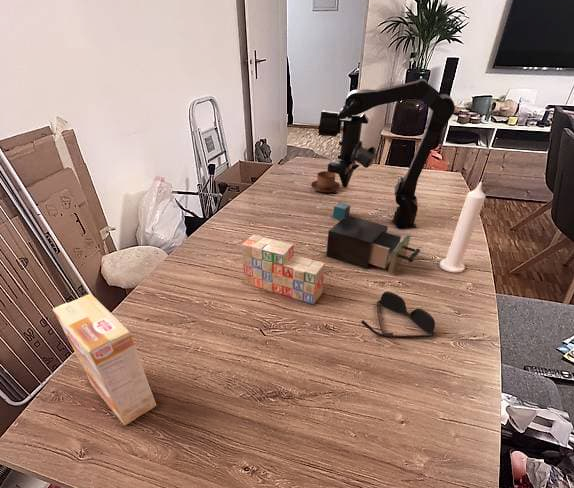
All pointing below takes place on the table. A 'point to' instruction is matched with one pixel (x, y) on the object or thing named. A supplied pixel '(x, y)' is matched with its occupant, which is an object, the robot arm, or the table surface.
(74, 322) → the coffeecake box
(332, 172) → the robot arm
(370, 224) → the cabinet
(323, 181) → the cup and saucer
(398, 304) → the sunglasses
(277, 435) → the table surface
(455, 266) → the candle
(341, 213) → the block
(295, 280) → the stack of blocks
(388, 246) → the drawer
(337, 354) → the table surface
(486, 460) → the table surface
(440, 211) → the table surface
